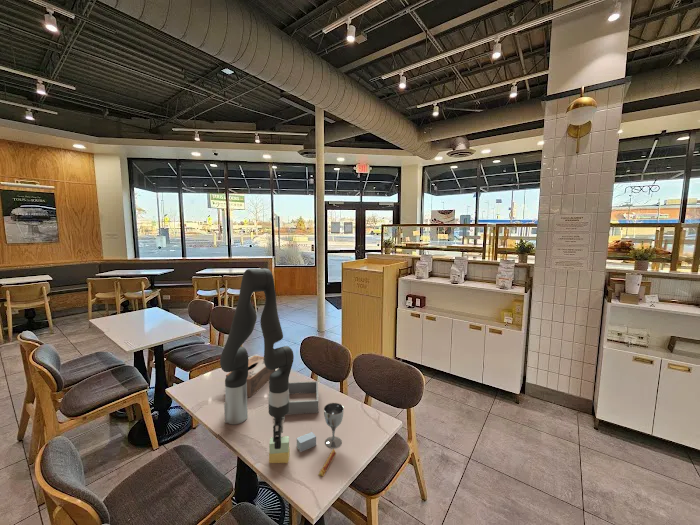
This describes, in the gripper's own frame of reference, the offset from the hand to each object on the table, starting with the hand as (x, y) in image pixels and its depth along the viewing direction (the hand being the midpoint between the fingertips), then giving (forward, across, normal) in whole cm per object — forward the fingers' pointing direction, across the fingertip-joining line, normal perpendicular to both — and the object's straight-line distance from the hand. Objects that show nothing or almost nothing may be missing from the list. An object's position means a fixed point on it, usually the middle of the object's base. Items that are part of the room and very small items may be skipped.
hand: (279, 440), depth 114 cm
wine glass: (+8, -7, +21) cm, 24 cm away
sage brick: (+4, 0, 0) cm, 4 cm away
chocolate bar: (+8, +4, +18) cm, 21 cm away
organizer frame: (+8, -37, +6) cm, 38 cm away
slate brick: (+8, -6, +10) cm, 14 cm away
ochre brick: (+8, 0, 0) cm, 8 cm away
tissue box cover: (+9, -59, -21) cm, 63 cm away
